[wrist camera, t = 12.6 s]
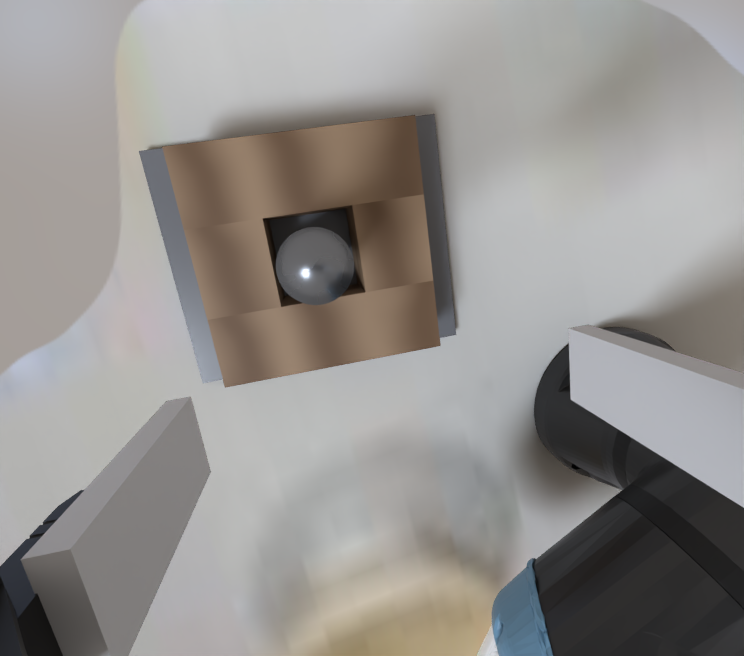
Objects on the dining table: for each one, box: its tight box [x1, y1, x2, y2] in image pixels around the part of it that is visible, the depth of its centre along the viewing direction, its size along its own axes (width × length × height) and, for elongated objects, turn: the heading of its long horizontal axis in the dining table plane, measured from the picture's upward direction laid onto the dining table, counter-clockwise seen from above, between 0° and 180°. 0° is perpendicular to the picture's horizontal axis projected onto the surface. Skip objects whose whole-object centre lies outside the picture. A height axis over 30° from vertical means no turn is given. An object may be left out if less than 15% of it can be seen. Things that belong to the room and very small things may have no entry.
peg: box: [276, 227, 354, 305], centre depth 27 cm, size 4×4×12 cm
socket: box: [139, 114, 456, 387], centre depth 30 cm, size 22×18×6 cm
